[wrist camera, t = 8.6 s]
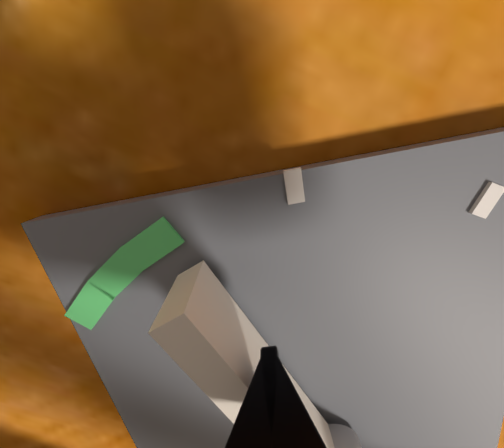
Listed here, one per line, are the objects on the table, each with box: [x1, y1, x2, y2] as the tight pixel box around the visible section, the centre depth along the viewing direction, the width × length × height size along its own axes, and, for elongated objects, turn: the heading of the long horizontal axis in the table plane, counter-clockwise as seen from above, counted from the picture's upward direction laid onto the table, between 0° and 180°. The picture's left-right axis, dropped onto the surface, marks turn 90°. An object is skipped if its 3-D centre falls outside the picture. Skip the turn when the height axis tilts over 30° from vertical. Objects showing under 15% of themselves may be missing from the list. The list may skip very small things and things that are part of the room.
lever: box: [148, 260, 362, 448], centre depth 10 cm, size 14×3×3 cm, turn 32°
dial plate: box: [21, 127, 504, 448], centre depth 12 cm, size 17×19×1 cm
